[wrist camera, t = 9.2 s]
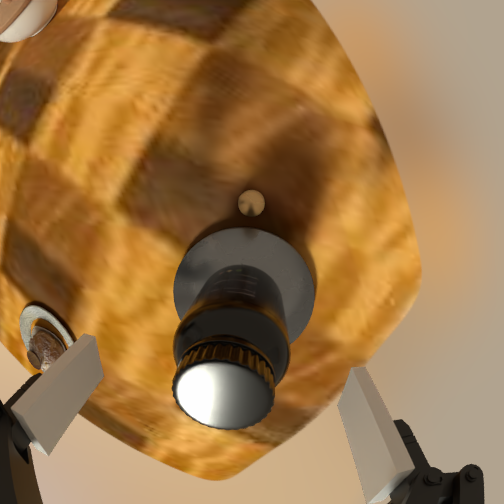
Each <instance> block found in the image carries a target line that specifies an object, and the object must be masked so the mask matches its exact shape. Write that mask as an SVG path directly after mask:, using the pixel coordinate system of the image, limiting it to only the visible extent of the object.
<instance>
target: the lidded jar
mask: <svg viewBox="0 0 504 504" xmlns="http://www.w3.org/2000/svg"><path fill="white" fill-rule="evenodd" d="M57 2H58V0H1V3H0V41H2V42H10V43H11V42H18V41H22V40H24V39H26V38H28V37H32V36H34V35H36V34H38V33H39V32H40V31H41V30H42V29H43V28H44V27H45V26H46V25H47V24H48V23H49V22H50V20H51V19H52V18H53V16H54V14H55V12H56V10H57Z"/></svg>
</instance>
